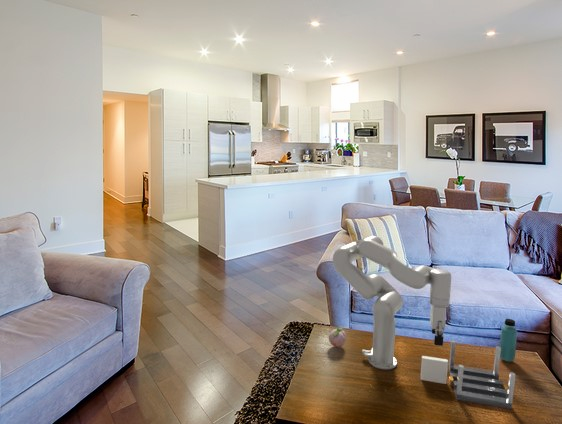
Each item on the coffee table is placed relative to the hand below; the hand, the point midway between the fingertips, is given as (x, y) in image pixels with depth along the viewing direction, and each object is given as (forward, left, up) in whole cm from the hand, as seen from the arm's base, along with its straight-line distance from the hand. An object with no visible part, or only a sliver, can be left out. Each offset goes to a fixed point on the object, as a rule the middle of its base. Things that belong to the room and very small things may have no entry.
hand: (437, 339), depth 153 cm
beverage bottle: (+34, +26, -19) cm, 47 cm away
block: (0, 0, -19) cm, 19 cm away
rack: (+17, 0, -19) cm, 25 cm away
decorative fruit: (-43, +15, -19) cm, 50 cm away
